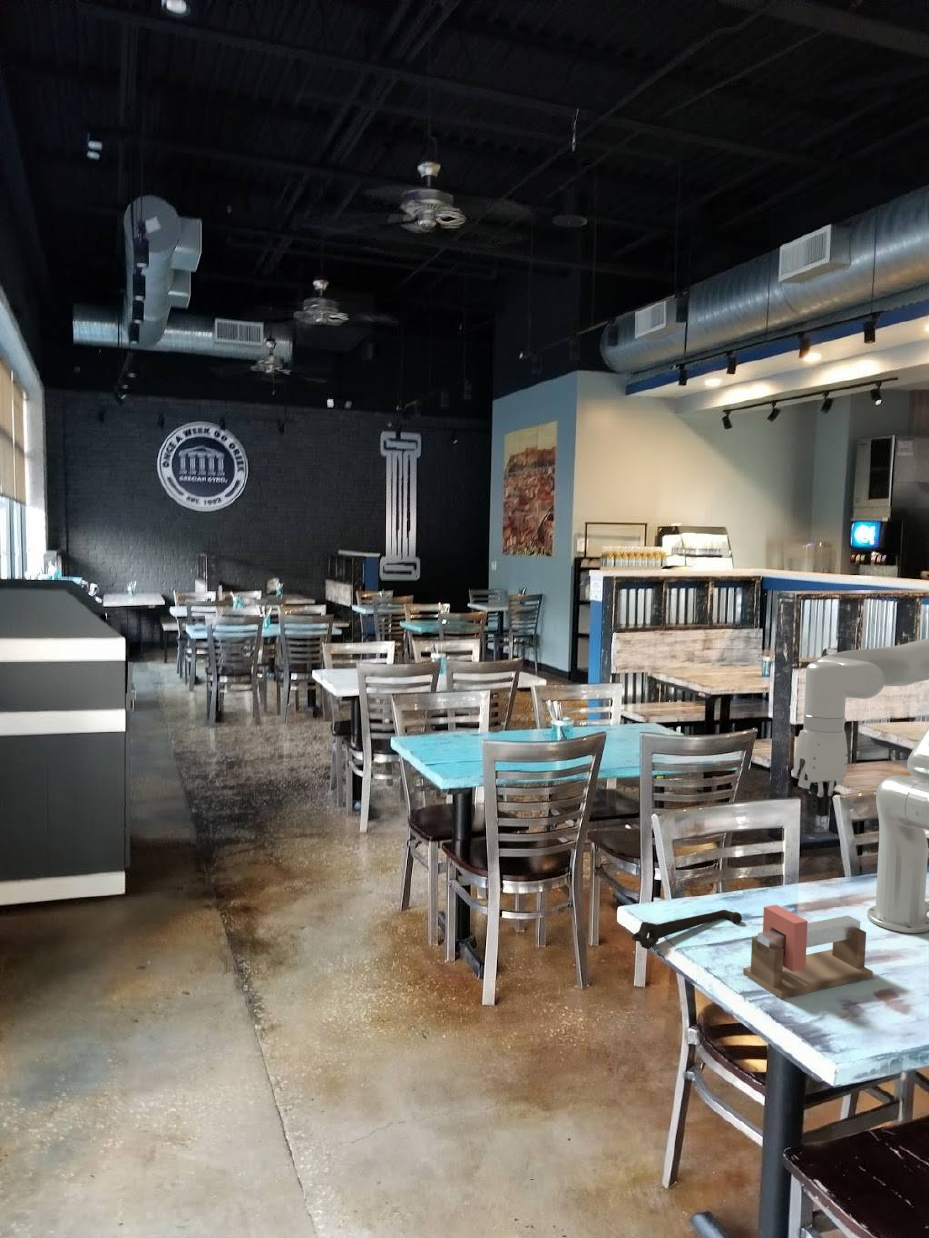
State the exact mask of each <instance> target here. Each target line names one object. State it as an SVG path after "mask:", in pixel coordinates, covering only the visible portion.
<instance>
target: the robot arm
mask: <svg viewBox="0 0 929 1238" xmlns="http://www.w3.org/2000/svg"><path fill="white" fill-rule="evenodd" d="M805 670H806V671H805V684H804V685H805V686H804V687H805V691H804V711H803V712H804V713H803V729H801V730H799V734H798V737H797V742H796V747H795V752H794V753H795V754H794V762H793V775H794V777H795V778H797V779H799V780H798V782H797V786H798V787H800V788H802V789H806V790H807V791H808V794H810V795H811V796H810V797H811V799H810V813H811V814H813V815H815V816H817V817H818V816H819V817H829V815H830V814H829V812H830V797H831V796H833V793H834V790H835V788H836V787H837V786H839V785H841V784H843V783H844V782H845V781H844V780H845V778H846V776H847V773H848V741H847V735H846V731H845V724H846V722H847V718H846V716H845V715H846V714H845V713H846V700H847V698H849V699H857V700H858V699H860V700H866V699H868V700H869V699H872V698H874V697H876V696H877V695H879V694H880V693H881V692H882V691H883V689H884V687H886V686H887V687H906V686H911V685H913V684H914V685H915V684H918V683H921V682H924V681H928V680H929V637H927V638H923V639H920V640H915V641H911V642H907V643H906V642H905V643H904V644H898V645H894V646H881V647H873V648H861V649H851V650H850V649H849V650H844V651H840V652H835V653H831V654H827V655H824V656H822V657H821V658H819V659H818V660H817V661H812V662H810V663H808V665H807V667H806V669H805ZM906 767H907V770H908V772H909V773H910V775H911V776H913V778H912V777H908V776H903V775H893V776H888V777H887V778H885V779H883V780H882V781H881V782H880V783H879V785H878V786H877V789H876V793H875V801H876V809H877V810H876V811H877V815H878V816H877V817H878V824H879V825H878V827H879V831H878V832H879V834H878V835H879V836H878V855H877V857H878V858H877V874H876V892H875V905H874V906H871V907H869V908H868V909H867V915H866V917H867V918H868V919H869V921H870V922H872V923H873V924H874V925H877V926H879V927H881V928H884V929H887V930H890V931H894V932H898V933H906V934H921V933H925V932H928V931H929V916H928V913H929V900H928V901H926V893H927V891H926V890H927V876H928V874H927V873H928V872H927V871H928V859H929V857H928V855H929V842H928V838H927V835H926V832H925V830H926V831H929V726H928V727H926V729H925V731H924V733H923V734H922V736H921V737H920V739H919V740H918V742H917V743H916V744H915V745H914V747H913V748H912V751H911V752H910V754H909V756H908V759H907V762H906Z"/></svg>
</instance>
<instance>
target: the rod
mask: <svg viewBox="0 0 929 1238" xmlns="http://www.w3.org/2000/svg"><path fill="white" fill-rule="evenodd" d="M858 929H861V921H860V920H858V919H856V918H854V917H852V916H850V915H844V916H839V917H833V918H827V919H823V920H817V921H812V922H808V923H807V944H806V949H807V948H812V947H817V946H821V945H826V944H830V943H831V944H833V942H836V941H841V940H846V939H851V938H852V931H853V930H858ZM757 937H758V941H759V942H760V943H761V945H762V944H764V946H763V947H765V948H764V949H766V948H767V949H768V947H769V948H770V947H775V946H779V947H780V948H782V949H783V953H784V952H785V947H786V935H785V934H783V933H781V932H779V931H778V930H771V931H766V932H763V931H762V932H757ZM757 945H760V944H757ZM766 946H767V947H766ZM763 947H762V948H763ZM757 948H760V946H759V947H758V946H757ZM762 948H760V951H763V952H764V950H762ZM767 949H766V950H767ZM758 950H759V949H758Z"/></svg>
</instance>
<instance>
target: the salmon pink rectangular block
mask: <svg viewBox="0 0 929 1238" xmlns="http://www.w3.org/2000/svg"><path fill="white" fill-rule="evenodd" d="M762 915H763V917H762V918H763V920H762V932H766V931H771V930H778V931H779V932H781V933H783V934H785V935H786V947H785V952H784V953H783V966H784V967H785V968H787V969H789V970H790V971H792V972H794V971H798V970H803V969H805V966H806V955H807V948H806V944H807V923H809V921H808V920H807V919H804V918H803V917H800V916H798V915H797V914H796V913H793V912H791V911H790V910H787V909H785V908H784V907H782V906H780V905H778V904H772V905H767V906H763V914H762Z"/></svg>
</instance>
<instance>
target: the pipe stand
mask: <svg viewBox="0 0 929 1238" xmlns="http://www.w3.org/2000/svg"><path fill="white" fill-rule="evenodd" d="M866 943H867V931H865V930H863V929H861V928H860V929H858V930H853V931H852V938H851V939H846V940H841V941H836V942H832V949H827V950H823V951H819V952H813V953H807V954H806V966H805V969H803V970H798V971H794V972H792V971H790V970H789V969H787V968H785V967H784V966H783V949H782V948H780V947H779V946H775V947H770V948H769V947H768V949H767V948H766V949H767V950H766V949H764V948H765V947H763V946H764V944H762V945H761V943H760V942H759V941H758V936H753V937H752V938H751V954H750V955H751V957H750V966H748V967H743V969H742V970H743V971H742V975H743V974H744V975H743V976H745V975H746V976H748V977H749V978H750V979H749V978H748V977H747V978H748V979H749V980H751V979H752V980H753V982H754V983H756V984H757V985H759V986H760V985H761V986H760V987H761V988H763V989H765V990H766V989H767V990H766V991H768V992H769V991H770V992H769V993H771V995H774V996H775V995H776V997H777V996H778V997H779V998H778V997H777V998H778V999H780V1000H783V999H787V998H786V997H788V998H791V996H792V997H795V996H794V995H796V996H799V995H804V994H808V993H813V992H817V991H816V990H818V991H821V990H826V989H830V988H834V987H838V986H842V985H847V984H851V983H855V982H859V981H864V980H868V979H869V980H870V979H873V976H874V971H873V970H871V969H870V968H867V967H865V963H866V947H867V944H866ZM757 944H760V945H757ZM757 946H758V947H759V946H760V948H762V947H763V948H762V950H764V952H763V951H760V948H757ZM766 947H767V946H766ZM758 949H759V950H758ZM746 976H745V977H746ZM752 980H751V981H752ZM782 998H783V999H782Z"/></svg>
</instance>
